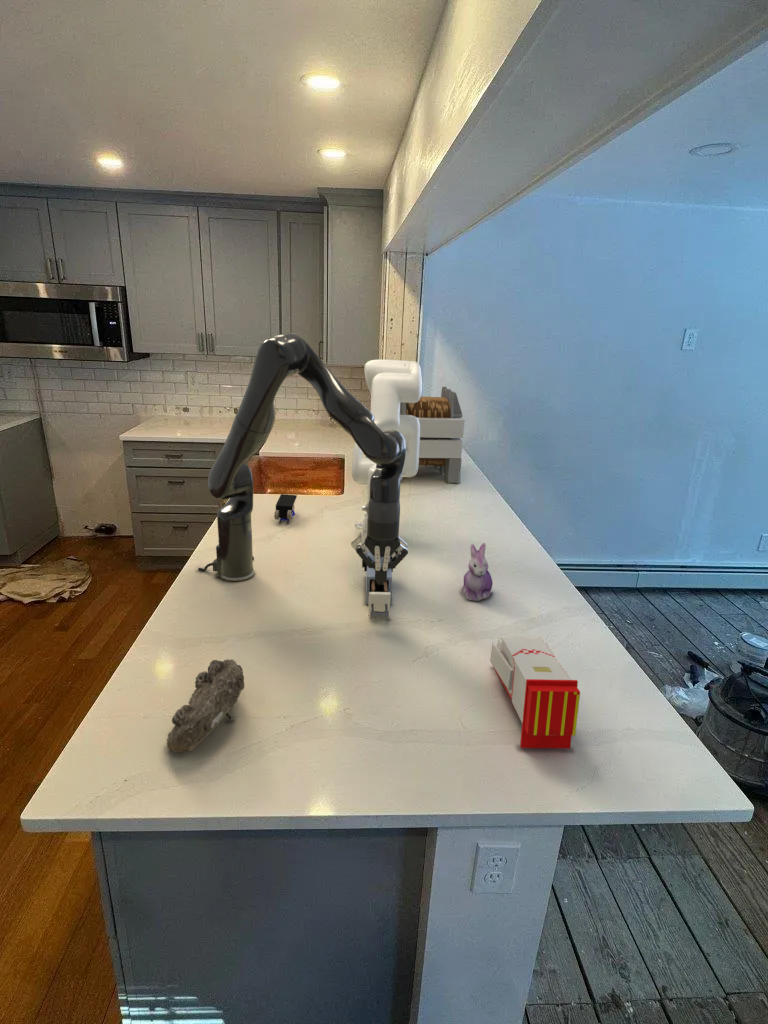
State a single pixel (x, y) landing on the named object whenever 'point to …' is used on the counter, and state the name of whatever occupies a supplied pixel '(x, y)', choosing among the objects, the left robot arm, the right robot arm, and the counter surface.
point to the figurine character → (285, 507)
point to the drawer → (379, 601)
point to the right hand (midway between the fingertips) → (378, 569)
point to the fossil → (206, 705)
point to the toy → (537, 691)
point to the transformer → (439, 432)
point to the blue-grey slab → (371, 575)
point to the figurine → (477, 576)
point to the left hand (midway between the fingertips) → (380, 582)
